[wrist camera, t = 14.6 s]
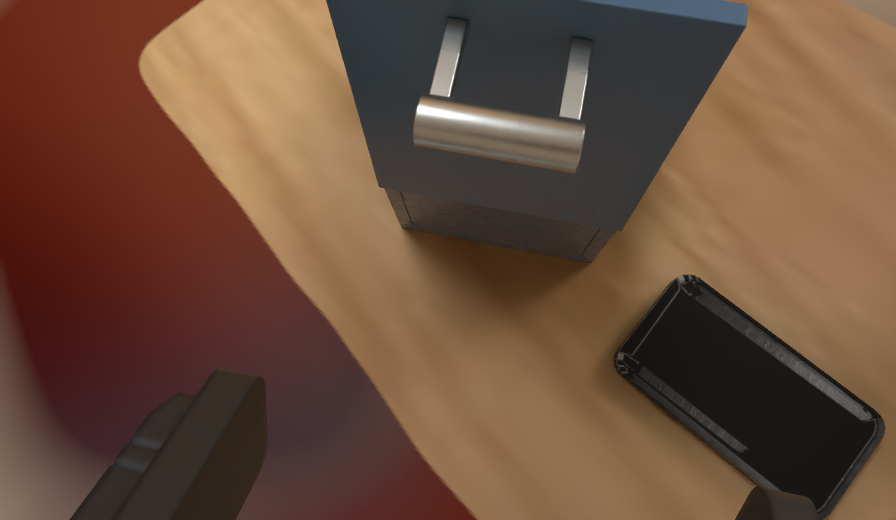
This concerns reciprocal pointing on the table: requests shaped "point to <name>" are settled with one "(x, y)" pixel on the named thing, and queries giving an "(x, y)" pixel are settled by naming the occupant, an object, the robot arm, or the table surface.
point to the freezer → (498, 226)
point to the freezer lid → (530, 96)
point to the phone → (749, 394)
